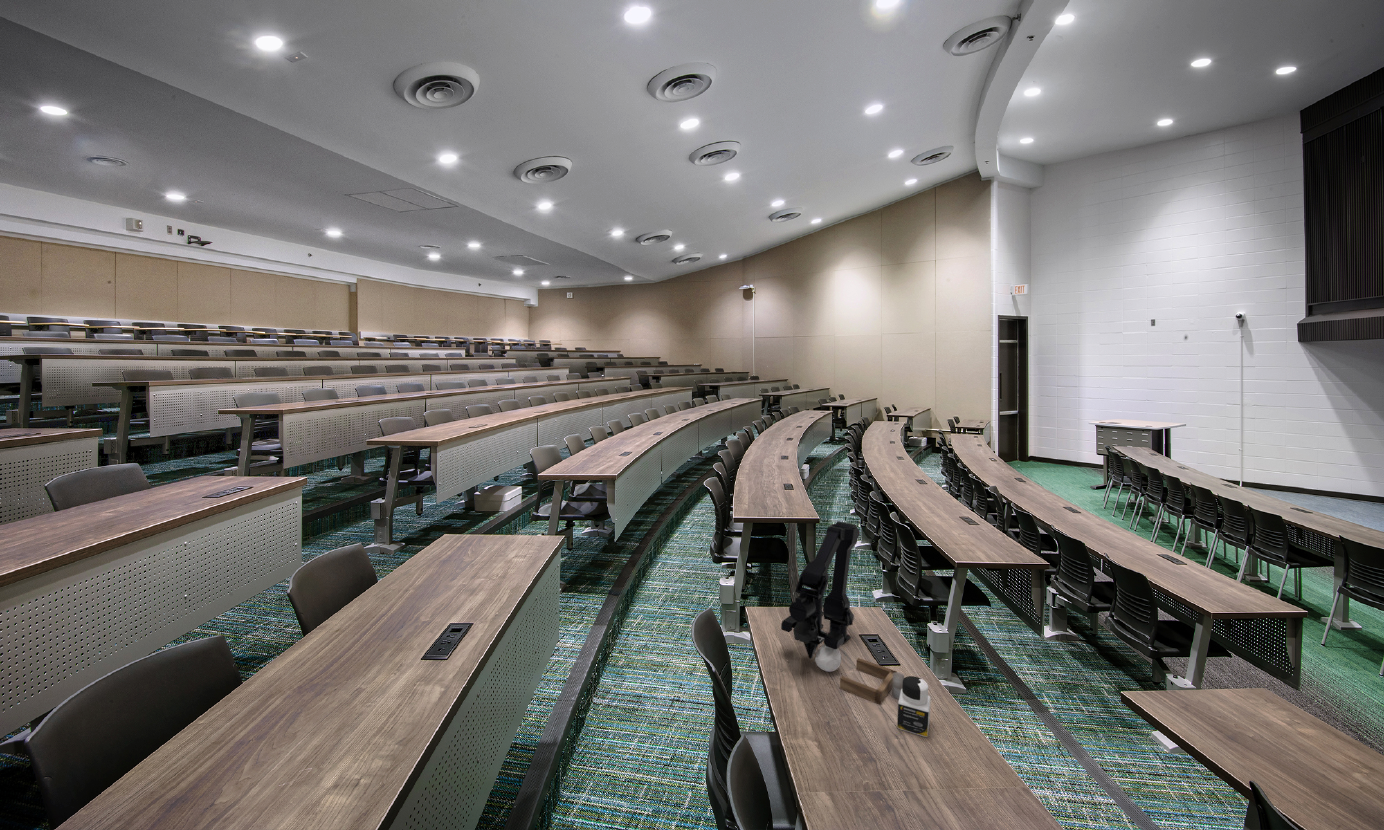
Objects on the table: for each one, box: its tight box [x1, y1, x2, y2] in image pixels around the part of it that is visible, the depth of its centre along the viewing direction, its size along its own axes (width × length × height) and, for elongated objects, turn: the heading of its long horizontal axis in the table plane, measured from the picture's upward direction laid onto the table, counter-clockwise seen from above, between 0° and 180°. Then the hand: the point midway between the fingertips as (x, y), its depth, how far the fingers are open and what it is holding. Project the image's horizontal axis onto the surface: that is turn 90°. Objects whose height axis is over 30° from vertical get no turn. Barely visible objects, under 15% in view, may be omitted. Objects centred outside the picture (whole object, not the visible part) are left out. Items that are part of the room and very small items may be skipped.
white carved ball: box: [814, 644, 842, 673], centre depth 160 cm, size 8×8×8 cm
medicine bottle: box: [896, 675, 932, 738], centre depth 135 cm, size 7×7×12 cm
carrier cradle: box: [839, 657, 905, 705], centre depth 151 cm, size 14×16×6 cm
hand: (810, 657), depth 163 cm, fingers closed
